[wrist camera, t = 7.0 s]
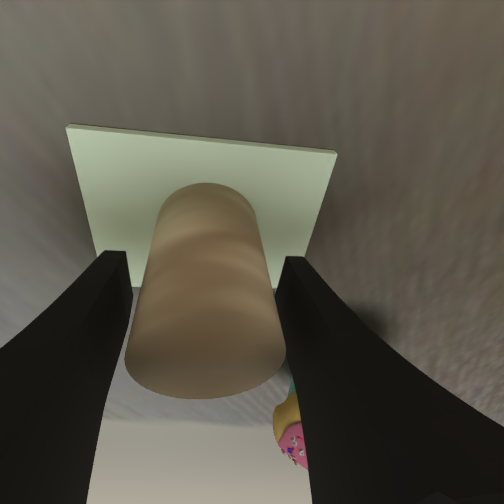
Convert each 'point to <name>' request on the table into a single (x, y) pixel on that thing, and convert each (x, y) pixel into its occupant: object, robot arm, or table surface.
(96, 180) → the mat
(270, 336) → the tan wooden cylinder
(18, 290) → the table surface
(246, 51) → the table surface
